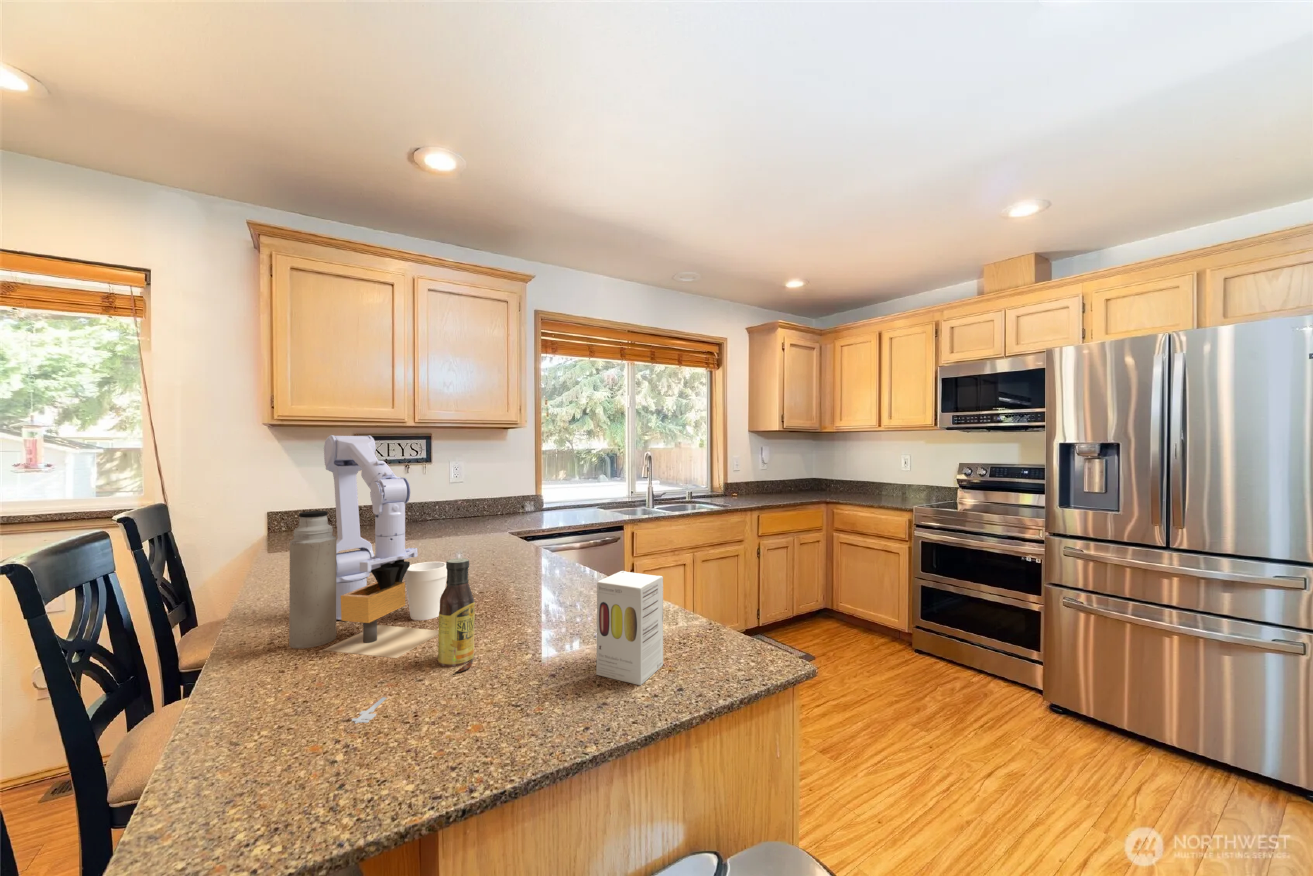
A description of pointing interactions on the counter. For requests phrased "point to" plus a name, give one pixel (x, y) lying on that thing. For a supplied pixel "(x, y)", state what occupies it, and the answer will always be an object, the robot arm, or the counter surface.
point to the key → (365, 713)
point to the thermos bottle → (312, 582)
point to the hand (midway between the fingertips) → (390, 597)
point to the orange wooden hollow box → (372, 602)
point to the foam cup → (425, 589)
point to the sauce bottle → (456, 618)
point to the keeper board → (384, 640)
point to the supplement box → (629, 626)
